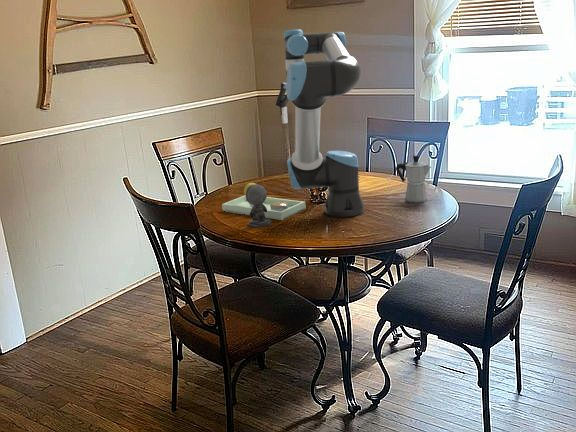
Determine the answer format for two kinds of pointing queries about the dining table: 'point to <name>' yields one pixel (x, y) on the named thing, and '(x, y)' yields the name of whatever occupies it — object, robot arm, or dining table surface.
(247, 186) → the light bulb
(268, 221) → the figurine
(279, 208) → the tin
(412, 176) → the coffee maker
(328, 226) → the dining table surface
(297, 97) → the robot arm
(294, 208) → the pale green tray
